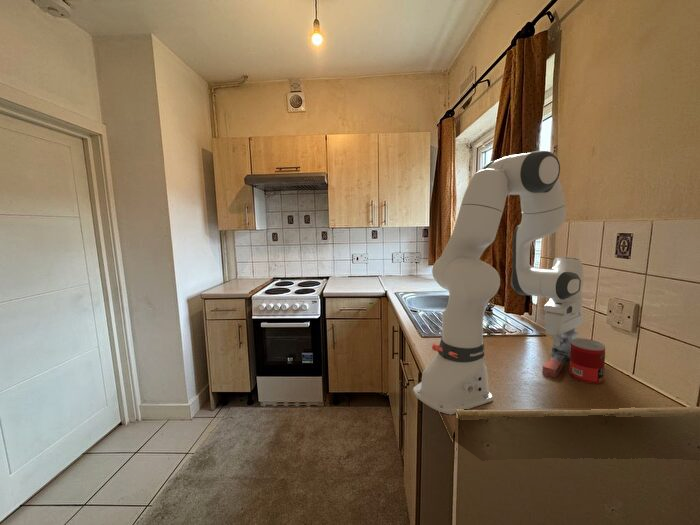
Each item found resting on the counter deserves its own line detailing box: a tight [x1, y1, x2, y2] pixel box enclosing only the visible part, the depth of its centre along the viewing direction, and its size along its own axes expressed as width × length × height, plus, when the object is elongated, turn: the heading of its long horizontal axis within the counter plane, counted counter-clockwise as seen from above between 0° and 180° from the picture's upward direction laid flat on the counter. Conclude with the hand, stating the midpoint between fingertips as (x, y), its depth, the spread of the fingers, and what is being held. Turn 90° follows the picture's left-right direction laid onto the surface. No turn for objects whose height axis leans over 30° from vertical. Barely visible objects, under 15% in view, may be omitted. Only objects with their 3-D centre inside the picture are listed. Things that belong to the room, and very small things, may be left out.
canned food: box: [569, 337, 606, 385], centre depth 86 cm, size 8×8×11 cm
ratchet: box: [542, 346, 570, 379], centre depth 95 cm, size 22×7×6 cm, turn 132°
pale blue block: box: [552, 331, 579, 354], centre depth 99 cm, size 5×5×6 cm
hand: (564, 341), depth 100 cm, fingers open, 8 cm apart
